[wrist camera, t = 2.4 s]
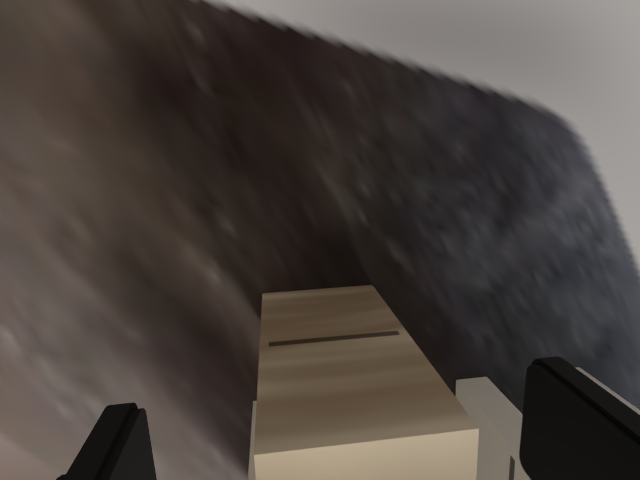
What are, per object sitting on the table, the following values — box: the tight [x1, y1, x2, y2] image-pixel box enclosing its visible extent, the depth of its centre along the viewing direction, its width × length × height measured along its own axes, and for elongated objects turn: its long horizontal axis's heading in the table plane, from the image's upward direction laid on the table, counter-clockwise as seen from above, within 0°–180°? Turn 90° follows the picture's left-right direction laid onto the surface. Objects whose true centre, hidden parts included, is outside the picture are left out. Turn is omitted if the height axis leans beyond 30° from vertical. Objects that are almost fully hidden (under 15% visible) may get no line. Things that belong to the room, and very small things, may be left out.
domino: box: [254, 285, 479, 480], centre depth 14 cm, size 2×5×10 cm, turn 93°
